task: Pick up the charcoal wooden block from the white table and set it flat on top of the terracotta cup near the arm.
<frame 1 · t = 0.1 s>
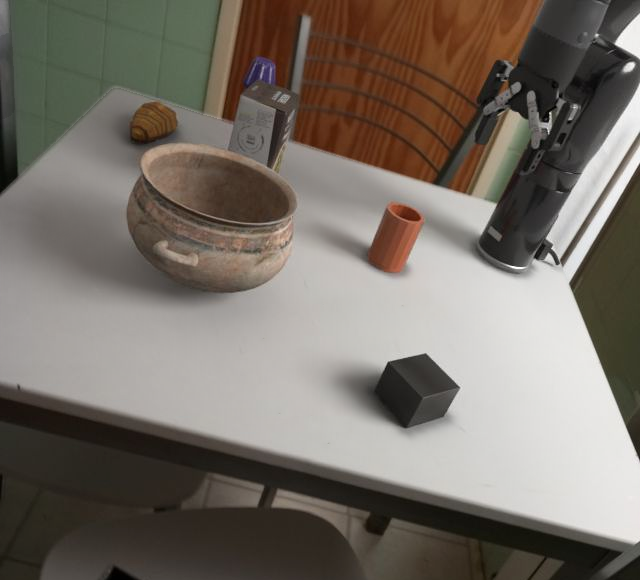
hand: (500, 158, 95), 17 cm above the table, tool pointing down, fingers open, 8 cm apart
block: (408, 404, 77), on the table
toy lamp: (238, 173, 106), on the table
coffee box: (243, 208, 99), on the table
cooking pot: (200, 276, 83), on the table
croissant: (153, 135, 107), on the table
cup: (385, 262, 100), on the table
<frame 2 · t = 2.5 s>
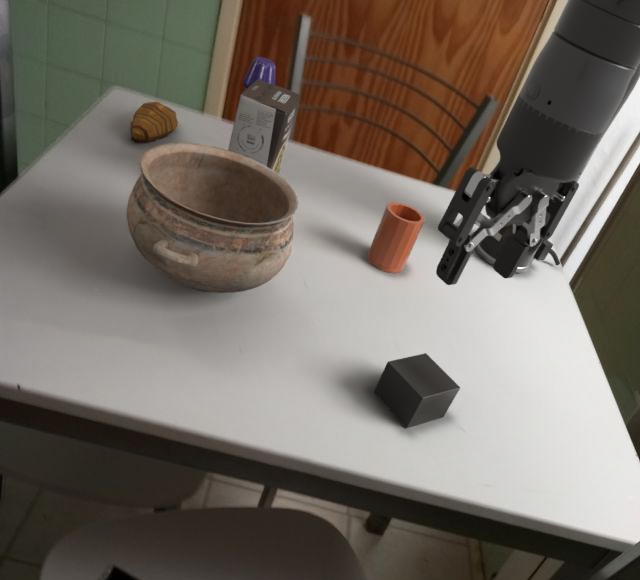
hand: (474, 276, 66), 17 cm above the table, tool pointing down, fingers open, 8 cm apart
nothing on the table moved.
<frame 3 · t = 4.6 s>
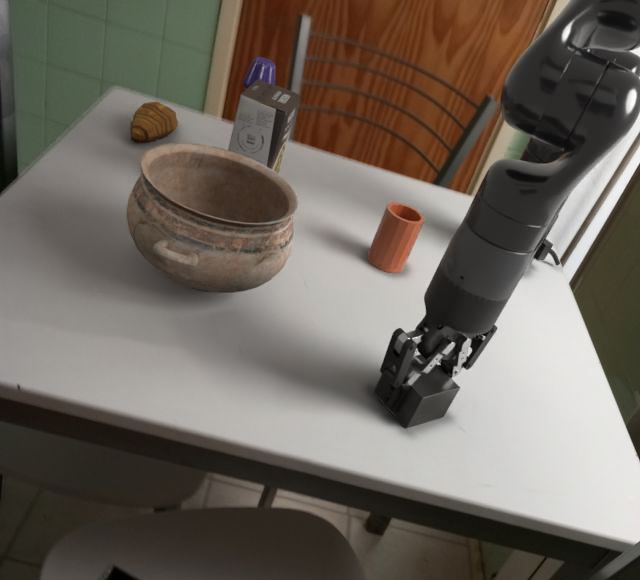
hand: (410, 400, 76), 1 cm above the table, tool pointing down, fingers closed on block, 6 cm apart
block: (408, 404, 77), on the table, touching gripper
everything else where it was.
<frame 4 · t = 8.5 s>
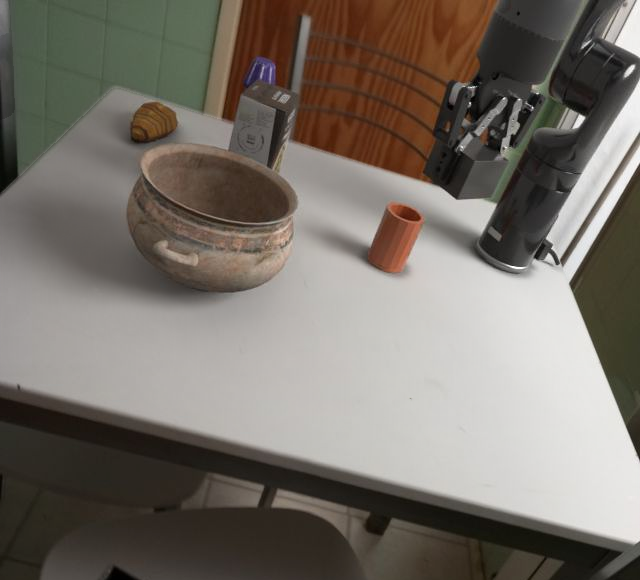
hand: (459, 180, 78), 19 cm above the table, tool pointing down, fingers closed on block, 6 cm apart
block: (456, 185, 78), point 18 cm above the table, touching gripper
everything else where it was.
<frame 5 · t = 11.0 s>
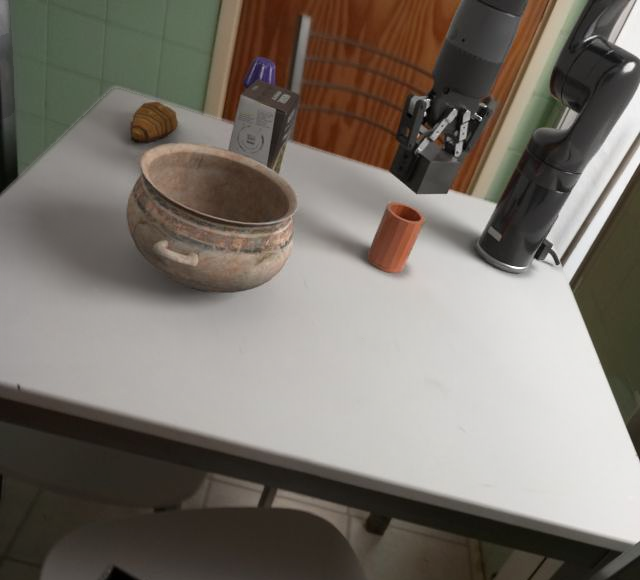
hand: (420, 178, 91), 13 cm above the table, tool pointing down, fingers closed on block, 6 cm apart
block: (418, 182, 92), point 12 cm above the table, touching gripper
everything else where it was.
when the fingers open (9 cm above the table, at t = 12.7 s): block stays where it is, resting on cup.
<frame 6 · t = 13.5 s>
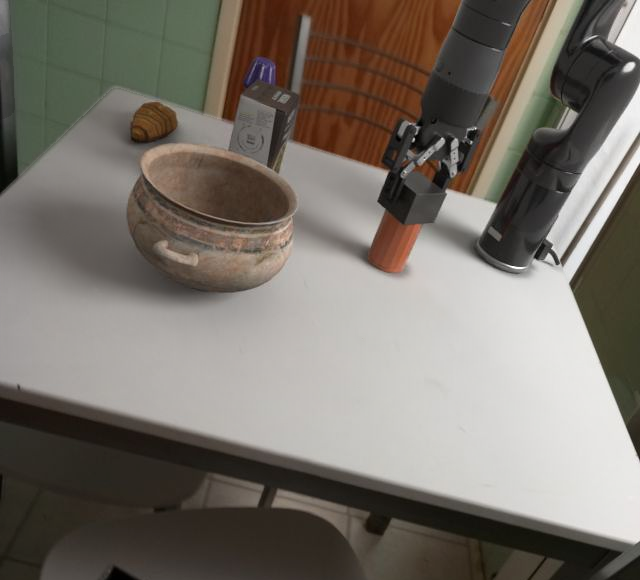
hand: (411, 199, 93), 10 cm above the table, tool pointing down, fingers open, 8 cm apart
block: (405, 212, 95), point 8 cm above the table, touching cup
everything else where it was.
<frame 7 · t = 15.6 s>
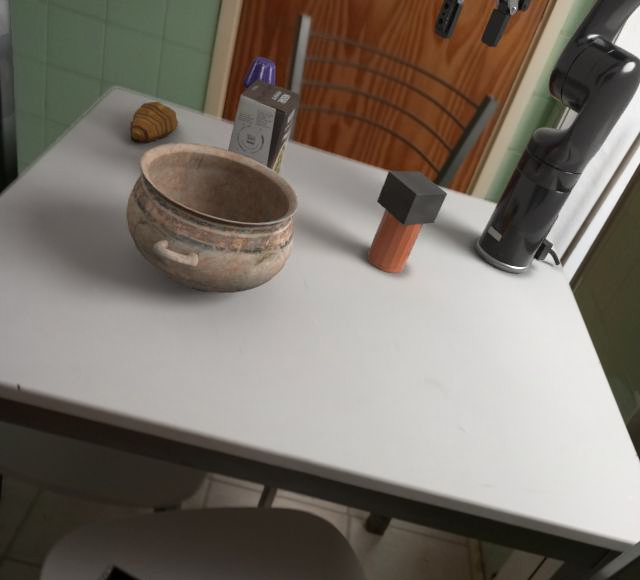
hand: (465, 40, 82), 30 cm above the table, tool pointing down, fingers open, 8 cm apart
nothing on the table moved.
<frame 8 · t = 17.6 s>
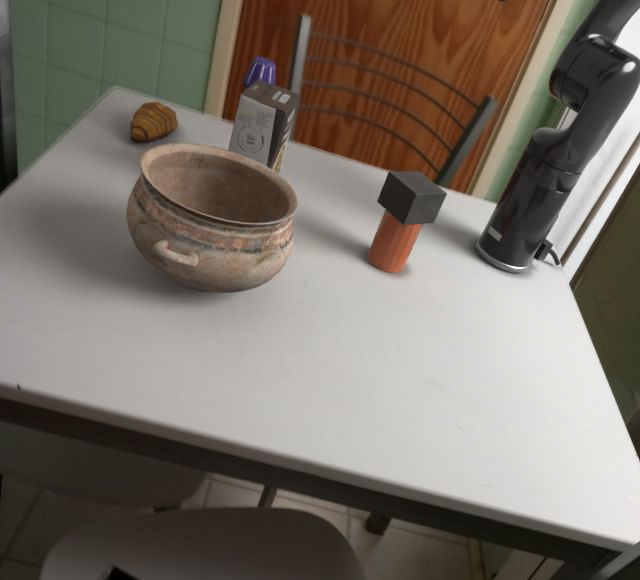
nothing on the table moved.
at the end: block 0.1 cm off-centre on the cup, point 8.0 cm above the cup's base; block tilted 0°; the gripper is holding nothing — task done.
